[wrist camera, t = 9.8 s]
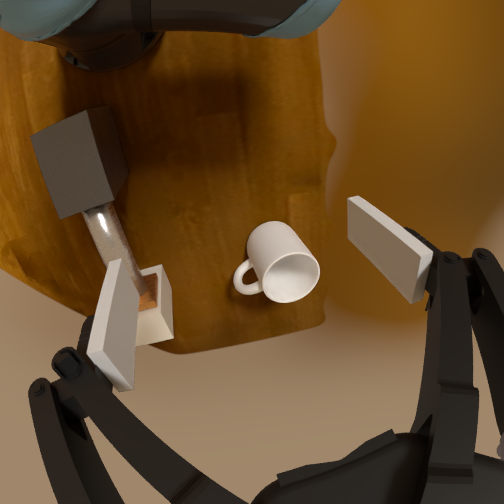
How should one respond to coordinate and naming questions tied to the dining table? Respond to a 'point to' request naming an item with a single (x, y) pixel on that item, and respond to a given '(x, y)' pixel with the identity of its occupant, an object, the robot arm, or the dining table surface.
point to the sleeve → (81, 160)
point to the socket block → (156, 312)
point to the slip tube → (119, 250)
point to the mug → (278, 264)
